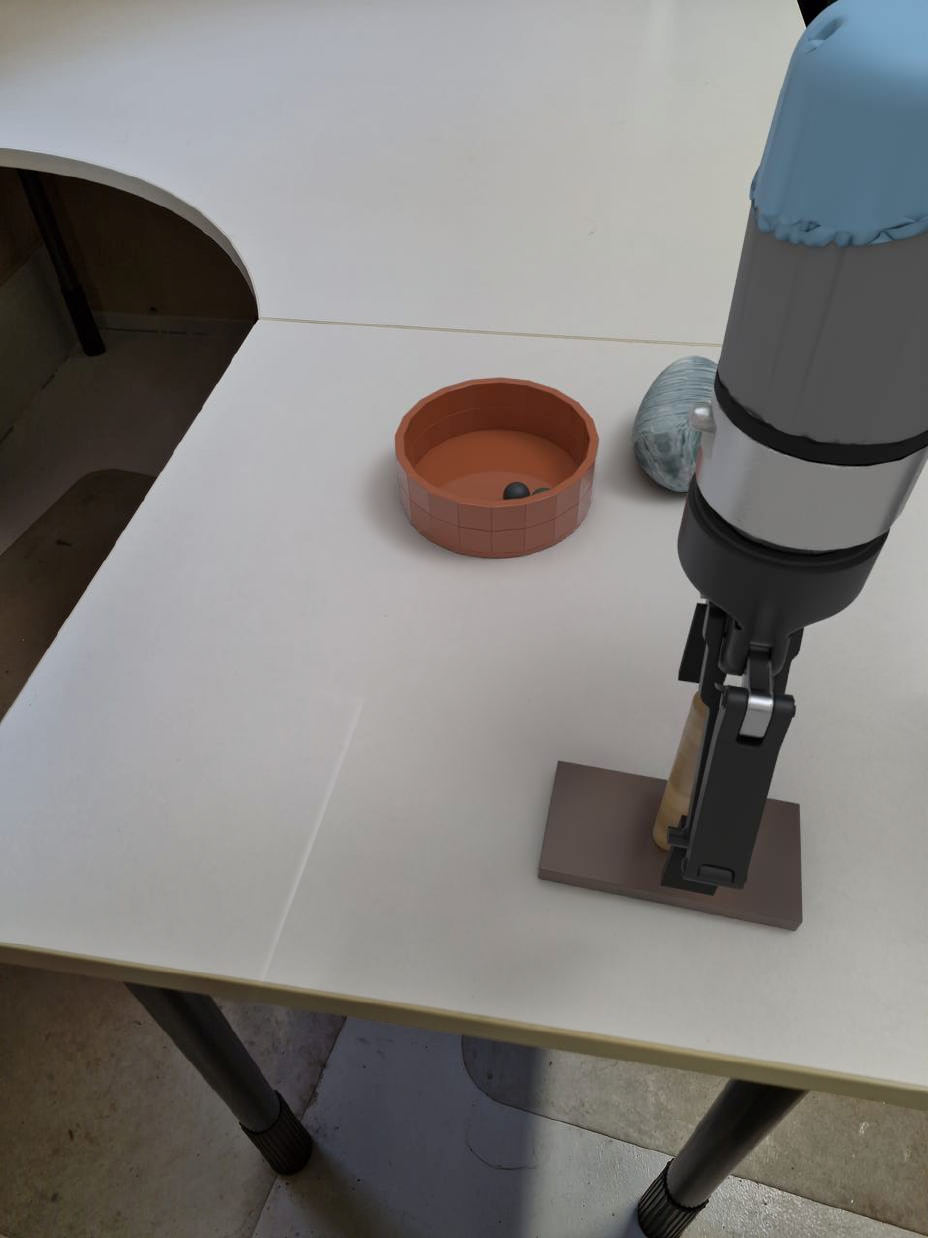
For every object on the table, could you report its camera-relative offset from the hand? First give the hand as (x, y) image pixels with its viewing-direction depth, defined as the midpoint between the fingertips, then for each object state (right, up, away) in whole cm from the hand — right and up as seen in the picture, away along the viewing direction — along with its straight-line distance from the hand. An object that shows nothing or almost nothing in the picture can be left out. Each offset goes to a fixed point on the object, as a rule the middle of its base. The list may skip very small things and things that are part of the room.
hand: (694, 773), depth 49 cm
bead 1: (-9, +20, +27) cm, 34 cm away
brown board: (0, -6, +7) cm, 9 cm away
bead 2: (-6, +19, +26) cm, 33 cm away
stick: (0, -5, +6) cm, 8 cm away
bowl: (-10, +21, +30) cm, 38 cm away
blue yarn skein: (+7, +24, +33) cm, 41 cm away
